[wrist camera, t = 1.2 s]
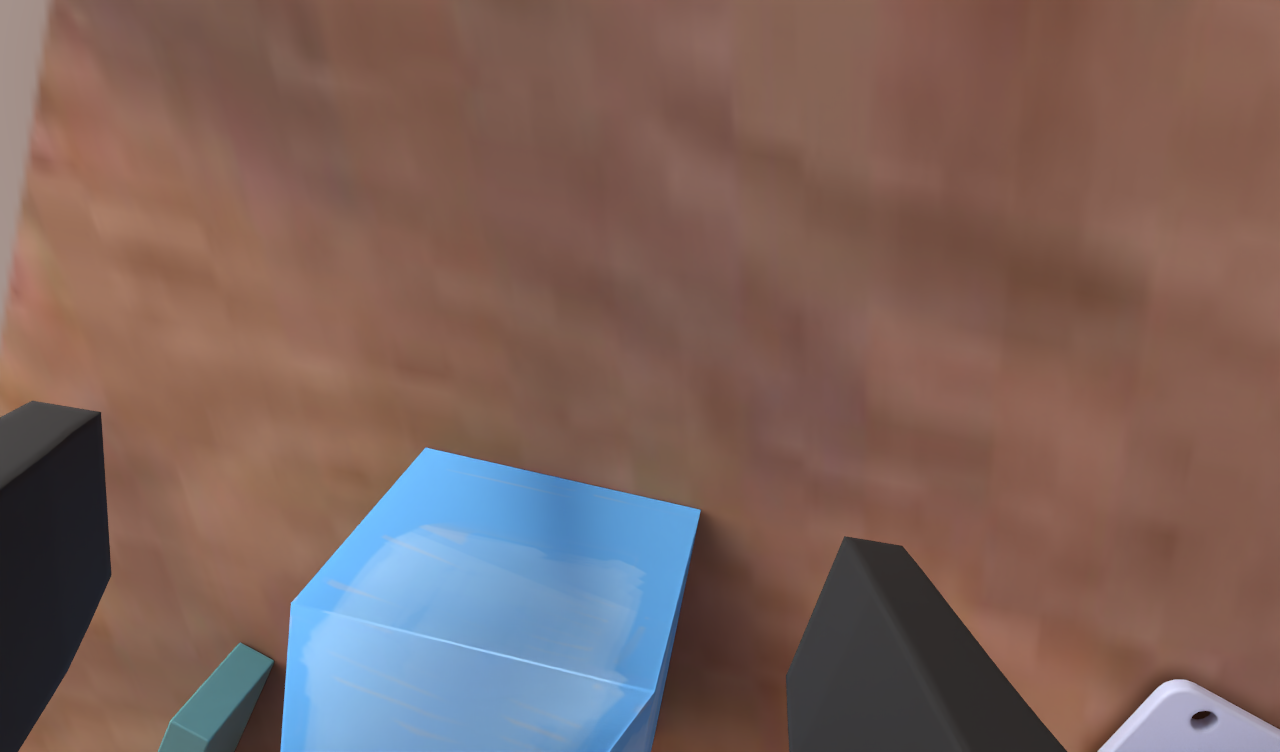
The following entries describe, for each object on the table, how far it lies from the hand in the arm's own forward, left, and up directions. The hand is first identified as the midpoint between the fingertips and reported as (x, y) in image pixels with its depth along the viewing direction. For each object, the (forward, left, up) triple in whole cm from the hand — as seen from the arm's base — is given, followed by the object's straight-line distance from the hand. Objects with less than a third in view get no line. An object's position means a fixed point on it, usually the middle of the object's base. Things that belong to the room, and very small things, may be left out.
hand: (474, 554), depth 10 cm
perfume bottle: (-1, +8, -11) cm, 14 cm away
